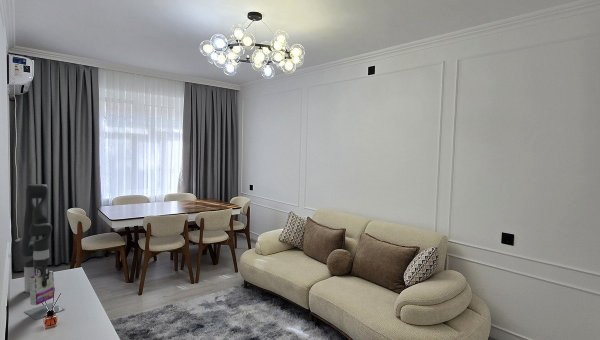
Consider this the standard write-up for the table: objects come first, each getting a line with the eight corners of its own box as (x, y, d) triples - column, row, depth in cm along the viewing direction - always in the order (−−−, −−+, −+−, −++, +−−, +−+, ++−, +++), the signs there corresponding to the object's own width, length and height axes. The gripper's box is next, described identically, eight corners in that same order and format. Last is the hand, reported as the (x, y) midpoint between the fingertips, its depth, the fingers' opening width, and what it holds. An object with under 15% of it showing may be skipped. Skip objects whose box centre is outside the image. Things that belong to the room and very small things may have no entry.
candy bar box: (47, 296, 201) (47, 270, 201) (54, 297, 200) (54, 270, 200) (29, 304, 190) (28, 276, 190) (36, 305, 189) (35, 277, 189)
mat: (24, 312, 192) (24, 311, 192) (51, 303, 204) (51, 302, 204) (36, 319, 184) (36, 319, 184) (64, 309, 196) (64, 309, 196)
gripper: (28, 256, 194) (28, 284, 195) (39, 261, 187) (39, 290, 188) (43, 253, 201) (43, 280, 202) (54, 257, 194) (55, 285, 195)
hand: (41, 284), depth 195 cm, fingers closed on candy bar box, 6 cm apart
